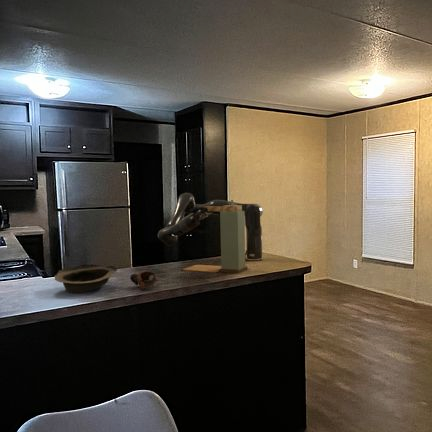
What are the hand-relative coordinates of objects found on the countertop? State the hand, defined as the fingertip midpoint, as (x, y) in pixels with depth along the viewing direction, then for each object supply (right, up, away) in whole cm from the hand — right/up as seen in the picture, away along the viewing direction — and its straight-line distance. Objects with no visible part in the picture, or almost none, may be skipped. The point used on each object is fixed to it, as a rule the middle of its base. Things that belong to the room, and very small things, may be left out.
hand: (211, 208), depth 233 cm
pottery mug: (-24, -36, -37) cm, 57 cm away
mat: (-4, -32, +3) cm, 33 cm away
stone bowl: (-48, -36, -39) cm, 72 cm away
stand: (+12, -33, -2) cm, 35 cm away
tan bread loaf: (+7, -2, -2) cm, 7 cm away
